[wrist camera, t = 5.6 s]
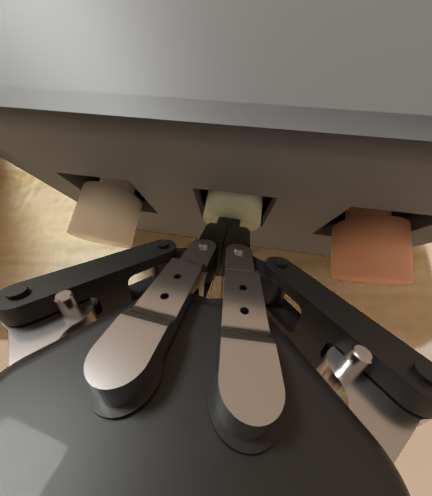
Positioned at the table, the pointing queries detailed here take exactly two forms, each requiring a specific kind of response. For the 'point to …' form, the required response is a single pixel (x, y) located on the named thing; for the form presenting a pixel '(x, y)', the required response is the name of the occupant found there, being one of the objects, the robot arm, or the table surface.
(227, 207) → the sage button
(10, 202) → the table surface
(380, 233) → the terracotta button
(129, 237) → the cream button
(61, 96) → the console
